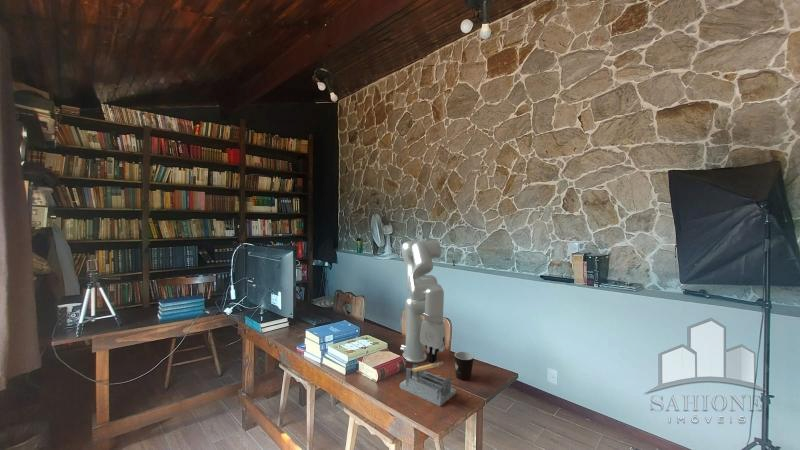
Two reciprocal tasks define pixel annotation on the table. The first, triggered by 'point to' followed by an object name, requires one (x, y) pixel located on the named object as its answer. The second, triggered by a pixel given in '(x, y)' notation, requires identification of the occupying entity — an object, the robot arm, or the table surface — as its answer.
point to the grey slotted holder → (428, 386)
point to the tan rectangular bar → (427, 366)
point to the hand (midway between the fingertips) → (432, 361)
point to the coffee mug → (463, 365)
